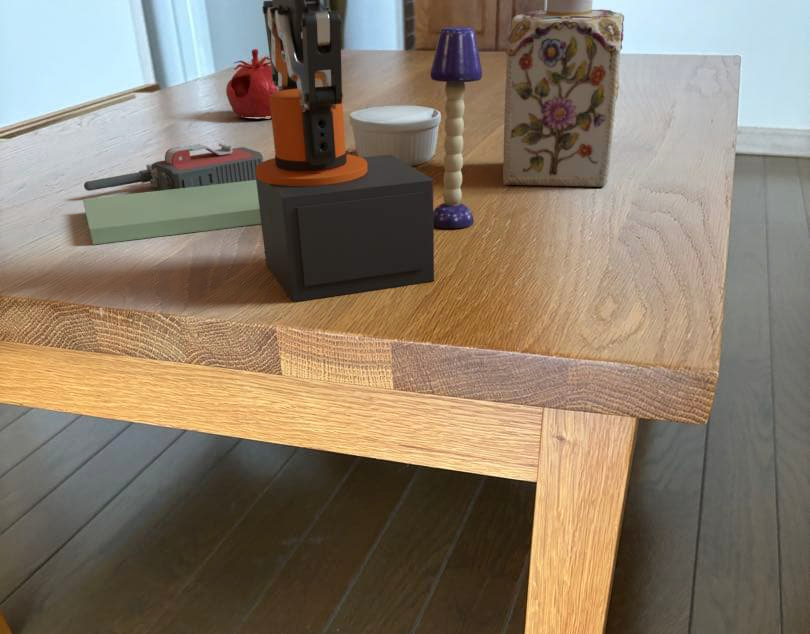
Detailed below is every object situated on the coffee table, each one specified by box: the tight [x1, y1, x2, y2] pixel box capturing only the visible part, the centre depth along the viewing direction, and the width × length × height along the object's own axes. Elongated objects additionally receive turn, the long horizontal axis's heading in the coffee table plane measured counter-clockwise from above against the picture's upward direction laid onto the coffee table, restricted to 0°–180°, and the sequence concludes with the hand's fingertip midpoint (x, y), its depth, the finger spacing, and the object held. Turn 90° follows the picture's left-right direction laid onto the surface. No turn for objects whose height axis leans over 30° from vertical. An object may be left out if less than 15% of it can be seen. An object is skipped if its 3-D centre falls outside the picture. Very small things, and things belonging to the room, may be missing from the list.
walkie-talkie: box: [83, 142, 264, 192], centre depth 100 cm, size 9×4×20 cm
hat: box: [256, 88, 368, 187], centre depth 70 cm, size 9×9×6 cm
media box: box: [255, 155, 435, 303], centre depth 73 cm, size 12×10×8 cm
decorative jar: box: [502, 0, 625, 188], centre depth 96 cm, size 12×12×18 cm
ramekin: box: [349, 105, 442, 167], centre depth 109 cm, size 11×11×5 cm
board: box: [82, 180, 261, 246], centre depth 91 cm, size 20×12×2 cm, turn 110°
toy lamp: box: [430, 26, 483, 229], centre depth 82 cm, size 5×5×17 cm
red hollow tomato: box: [225, 48, 278, 117], centre depth 135 cm, size 10×10×9 cm
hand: (310, 154), depth 71 cm, fingers closed on hat, 5 cm apart
